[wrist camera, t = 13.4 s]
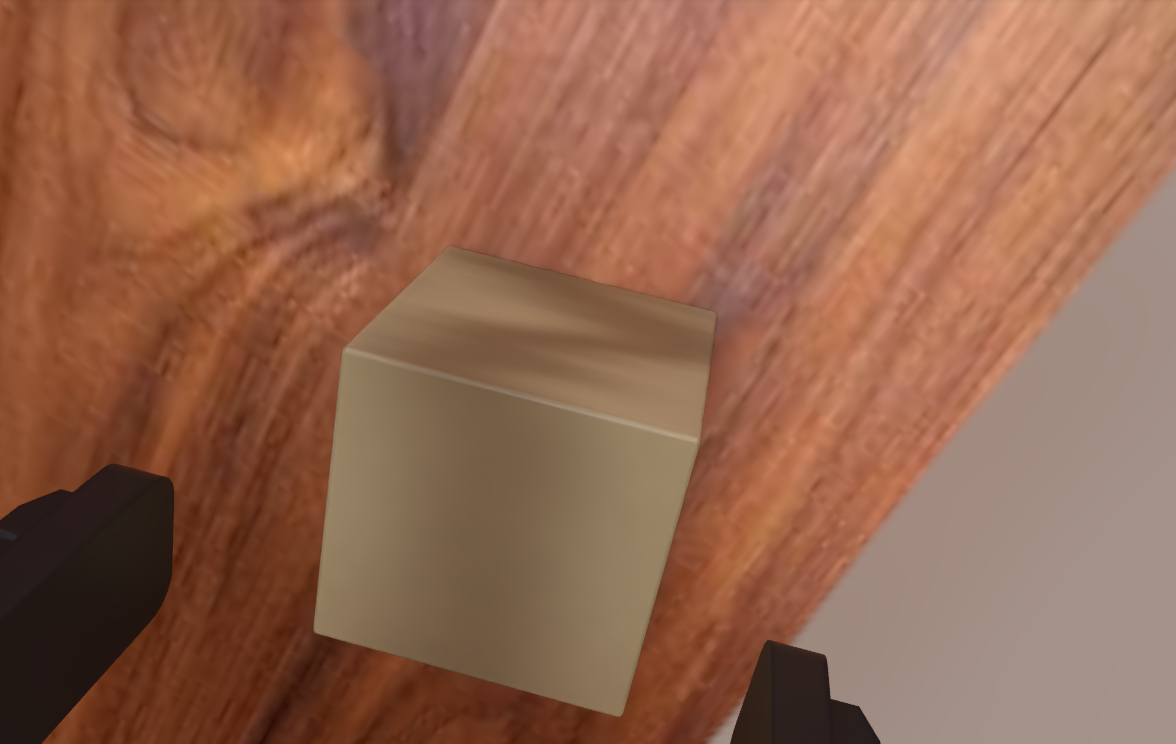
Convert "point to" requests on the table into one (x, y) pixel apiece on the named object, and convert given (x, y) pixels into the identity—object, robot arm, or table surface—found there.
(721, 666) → the table surface
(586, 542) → the block
